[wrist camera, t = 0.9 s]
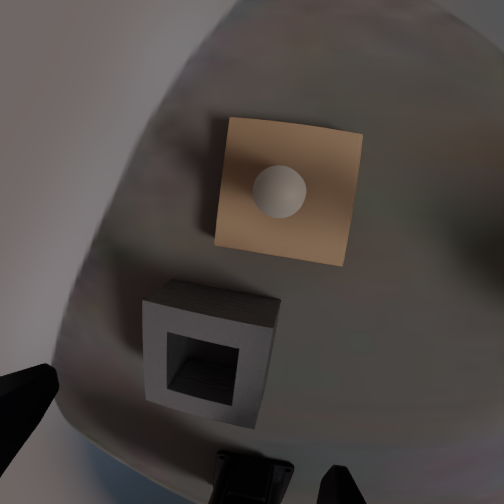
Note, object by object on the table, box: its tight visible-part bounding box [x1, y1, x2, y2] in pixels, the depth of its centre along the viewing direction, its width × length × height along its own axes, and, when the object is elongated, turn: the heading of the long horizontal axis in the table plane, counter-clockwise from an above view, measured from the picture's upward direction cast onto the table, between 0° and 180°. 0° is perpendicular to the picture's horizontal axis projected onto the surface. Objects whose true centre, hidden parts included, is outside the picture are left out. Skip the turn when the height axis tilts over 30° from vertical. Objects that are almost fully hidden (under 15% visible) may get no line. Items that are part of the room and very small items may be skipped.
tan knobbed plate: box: [214, 117, 363, 267], centre depth 15 cm, size 7×7×6 cm
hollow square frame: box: [142, 279, 281, 429], centre depth 18 cm, size 7×7×4 cm
